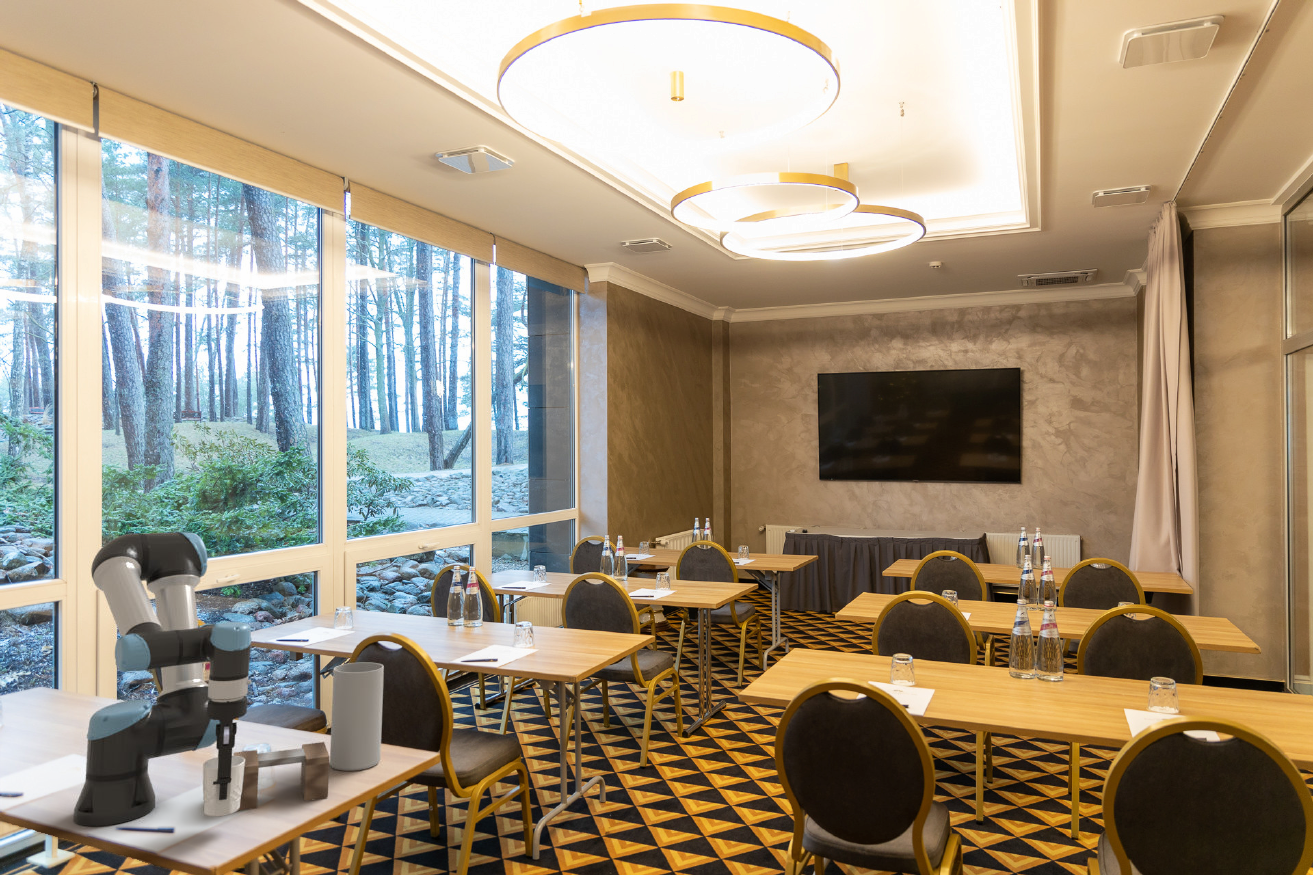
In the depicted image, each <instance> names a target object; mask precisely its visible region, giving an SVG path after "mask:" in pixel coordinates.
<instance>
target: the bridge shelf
mask: <svg viewBox="0 0 1313 875" xmlns="http://www.w3.org/2000/svg"><path fill="white" fill-rule="evenodd" d="M325 743H326V742H325V741H322V742H314V743H313V742H312V743H305V744H302V745H301V748H293V749H284V750H277V751H276V750H275V751H268V752H260V753H258V749H254V750H253V749H252V750H245V751H237V752H233V756H240V757H243V758H244V759H245V767H244V777H243V785H242V793H241V799H240V808H239V809H238V810H237V811H236V812H241V811H248V810H253V809H257V808H258V790H259V769H260V768H267V767H268V768H269V767H276V766H277V767H278V766H284V765H292V764H300V763H301V765H300V787H301V791H302V795H303V796H302V797H303V799H304V802H308V801H313V800H312V799H316V800H320V799H321V800H323V799H327V798H326V797H328V796H329V779H330V778H329V776H330V775H329V774H330V754H329V751H328V749H327V746H326V744H325Z"/></svg>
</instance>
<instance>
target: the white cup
mask: <svg viewBox="0 0 1313 875" xmlns="http://www.w3.org/2000/svg"><path fill="white" fill-rule="evenodd" d="M244 767H245V759H244V758H243V757H240V756H234V755H232V764H231V778H232V779H231V790H230V809H229V814H224V815H217V816H215V797H216V785H213V782H214V781H216V780H217V776H218V756H217V757H213V758H211V759H208V760H206V761H205V762H204V763H203V765H202V768H203V770H202V771H203V772H202V778H203V779H202V795H203V797H202V799H203V814H205V815H206V816H208V817H209V816H210V817H220V816H227V815H231V814H233V813H235V812H238V811H237V810H238V809H239V808H240V799H241V793H242V785H243V777H244Z"/></svg>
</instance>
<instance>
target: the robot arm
mask: <svg viewBox="0 0 1313 875" xmlns="http://www.w3.org/2000/svg"><path fill="white" fill-rule="evenodd" d="M207 568H208V552H207V548H206V545H205V543H204V541H203V539H202V538H201V537H200V536H199V535H198V534H197V533H194V532H181V531H175V532H153V533H151V532H149V533H148V532H147V533H127V534H124V535H120V536H118V537H115V538H113V539H111V540H109V541H108V542H107V543H105V545H103V546H102V547H101V548H100V549H99V550H98V552H97V553H96V555H95V557H94V559H93V561H92V564H91V568H90V570H91V571H90V572H91V573H90V574H91V578H92V580H93V584H94V585H95V586H96V588H97V589H99V591H101V592H103V594H104V597H105V599H106V602H107V604H108V607H109V609H110V612H111V614H112V617H113V619H114V622H115V624H116V627H117V630H118V632H119V635H120V637H118V638H117V640H116V643H115V646H114V647H115V648H114V659H115V665H116V668H117V669H118V670H119V671H120V672H126V673H128V672H143V671H146V670H147V671H149V670H155V669H160V670H161V682H162V690H161V692H160V693H159V694H158V695H157V696H156V699H155V701H156V704H153V703H152V702H151V700H149V699H144V698H140V699H139V698H138V699H130V700H124V701H119V702H116V703H113V704H110V705H107V706H105V707H103V708H100V709H98V710H97V711H95V713H93V714H92V715H91V717H90V719H89V723H88V729H87V734H86V739H87V744H86V745H87V747H86V748H87V750H86V765H85V766H86V767H85V779H84V780H85V781H84V785H82V786H83V787H82V789H81V792H80V793H79V794H80V795H79V796H78V798H77V801H76V804H75V807H74V808H73V810H74V811H73V821H74V822H75V823H76V824H78V825H80V826H87V827H100V826H101V827H102V826H103V827H104V826H109V825H110V826H111V825H117V824H121V823H126V822H129V821H133V820H136V819H139V818H141V817H143V816H146V815H147V814H150V813H151V812H152V811H153V810H154V809H155V807H156V793H155V790H154V787H153V784H152V781H151V778H150V775H149V760H151V759H154V758H161V757H166V756H171V755H176V754H180V753H186V752H191V751H192V752H195V751H198V750H200V749H201V750H202V749H206V748H208V747H209V748H210V747H211V746H213V745H214V744H215V743H216V750H218V752H217V757H218V776H217V780H216V781H214V782H213V785H216V797H215V816H214V817H218V816H217V815H223V816H225V815H224V814H228V815H230V814H229V809H230V790H231V779H232V778H231V764H232V756H233V748H234V747H235V746H236V745H235V744H236V743H235V742H236V734H237V730H238V726H237V723H238V722H234V720H235V719H240V718H242V717H244V716H245V715H246V714H247V712H248V697H247V696H246V695H247V694H248V692H249V691H248V690H249V689H248V687H249V686H248V685H251V684H252V680H251V679H249V673H250V672H249V670H250V659H251V656H250V655H251V645H252V632H251V631H252V630H251V629H252V628H251V626H250V624H249V623H247V622H241V621H226V622H221V623H218V624H217V623H216V624H215V623H205V624H201V625H199V620H198V612H197V611H198V610H197V609H198V608H197V600H196V591H195V589H196V587H198V585H199V584H200V583H201V578H202V577H203V576H205V574H206V573H207ZM144 581H145V582H146V589H147V590H148V592H150V593H153V594H154V598H155V599H154V600H155V608H154V606H153V605H152V602H151V600H150V598H149V595H148V593H147V591H146V589H145V586H144V584H143V582H144ZM155 610H156V611H155ZM203 663H209V676H208V677H209V678H208V683H207V682H206V681H205V679H204V669H203Z"/></svg>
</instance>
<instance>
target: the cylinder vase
mask: <svg viewBox="0 0 1313 875" xmlns="http://www.w3.org/2000/svg"><path fill="white" fill-rule="evenodd" d="M384 668H385V667H384V664H382V663H377V662H365V661H363V662H350V663H344V664H340V665H336V666H334V667H333V674H332V675H333V676H332V681H333V682H332V699H331V701H332V702H331V704H332V705H331V727H330V728H331V729H330V751H329V752H330V754H329V766H331V768H332V769H334V770H337V771H342V772H343V771H344V772H345V771H346V772H352V771H353V772H355V771H356V772H357V771H362V770H366V769H367V770H368V769H369V768H373V767H374V766H377V765H378V764H379V762H380V761H381V751H382V749H381V748H382V727H383V726H382V724H383V699H384V696H383V695H384V674H385V673H384V671H385V670H384Z"/></svg>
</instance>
